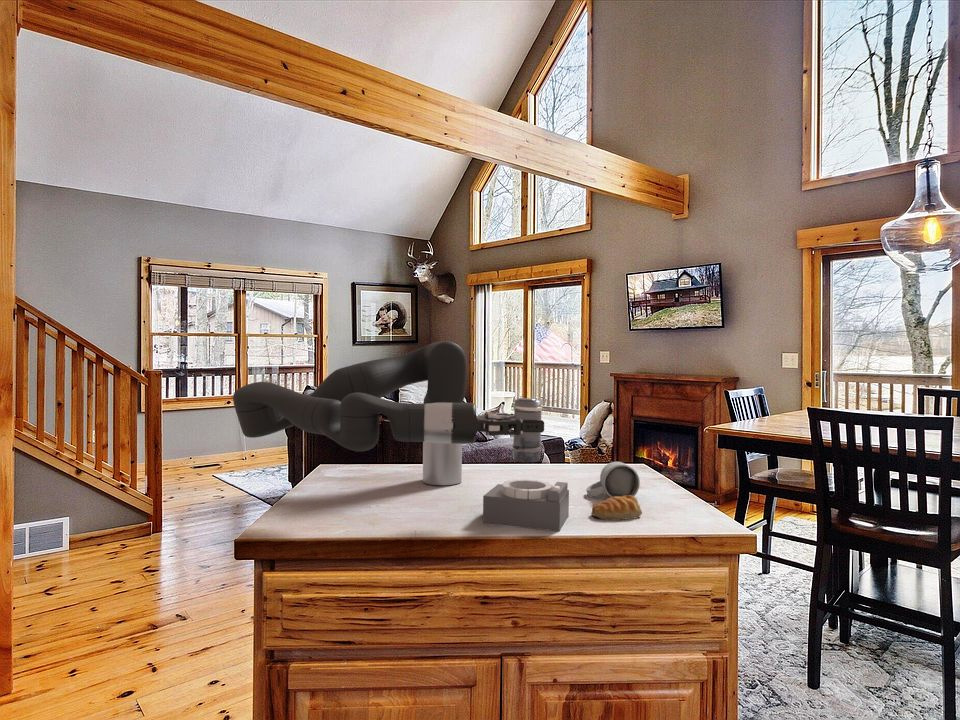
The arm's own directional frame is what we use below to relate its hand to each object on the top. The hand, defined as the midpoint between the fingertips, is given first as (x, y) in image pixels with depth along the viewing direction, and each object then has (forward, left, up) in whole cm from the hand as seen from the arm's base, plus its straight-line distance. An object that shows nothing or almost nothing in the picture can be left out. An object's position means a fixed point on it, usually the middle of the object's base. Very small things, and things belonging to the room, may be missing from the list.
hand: (541, 424), depth 111 cm
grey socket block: (+1, -2, -18) cm, 18 cm away
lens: (+1, -2, -7) cm, 7 cm away
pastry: (-8, +14, -18) cm, 24 cm away
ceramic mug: (-23, +11, -18) cm, 31 cm away
